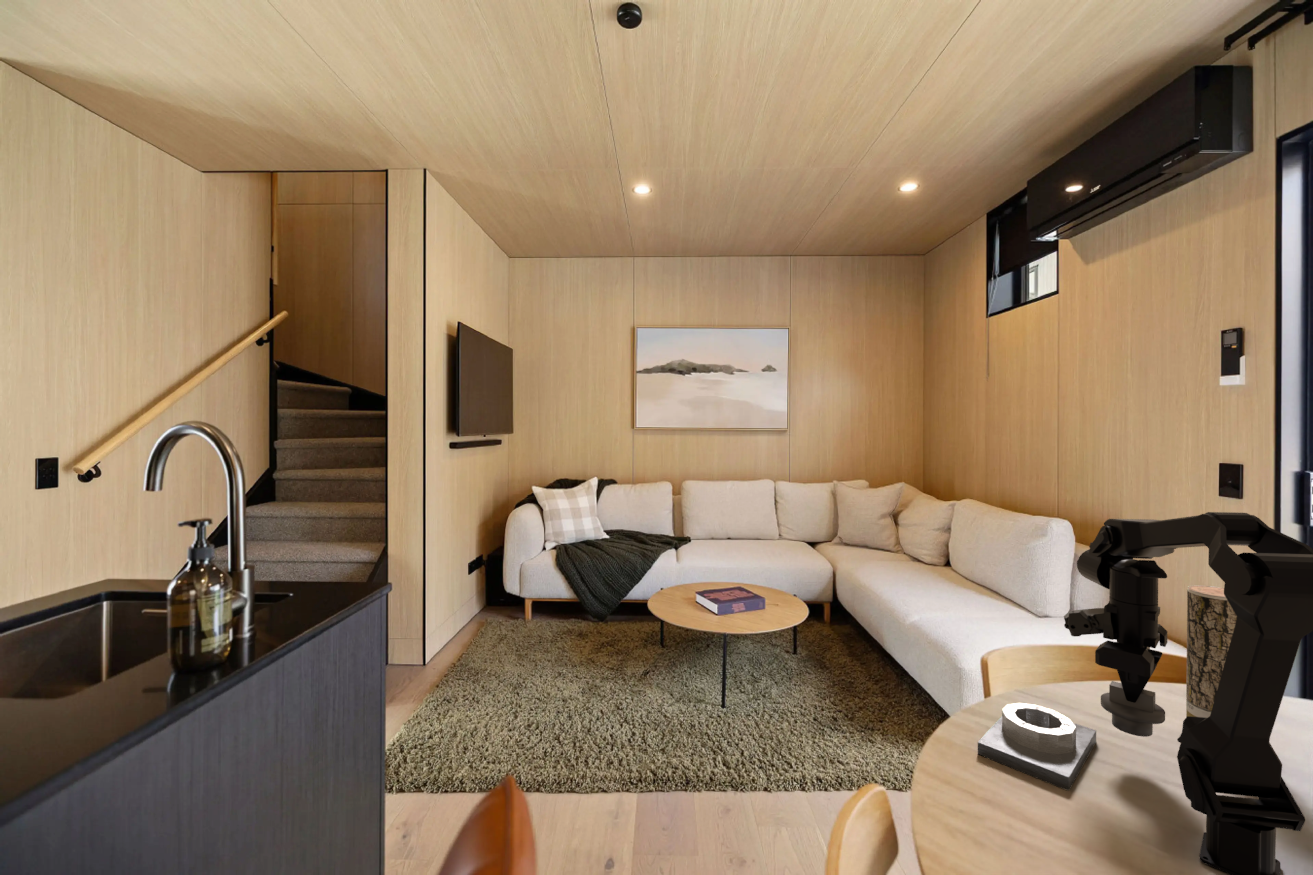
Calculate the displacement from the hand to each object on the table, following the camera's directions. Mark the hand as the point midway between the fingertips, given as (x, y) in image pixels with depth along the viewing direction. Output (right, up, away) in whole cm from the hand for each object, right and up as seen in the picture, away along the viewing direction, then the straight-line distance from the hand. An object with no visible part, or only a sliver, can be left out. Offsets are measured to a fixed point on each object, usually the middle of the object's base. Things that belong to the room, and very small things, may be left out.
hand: (1132, 698), depth 86 cm
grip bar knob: (0, -5, 0) cm, 5 cm away
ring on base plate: (-12, -10, +4) cm, 16 cm away
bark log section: (+19, -10, +6) cm, 22 cm away
